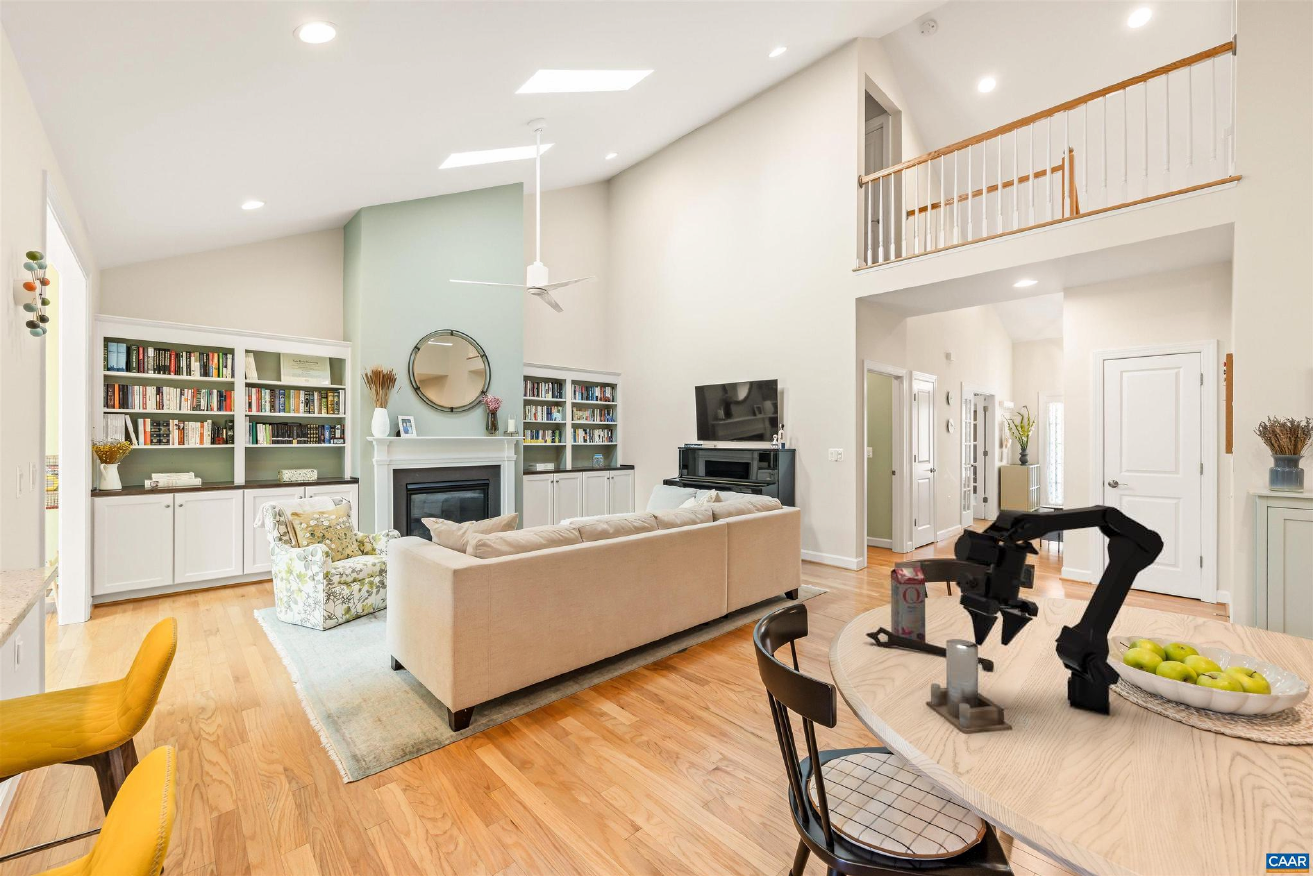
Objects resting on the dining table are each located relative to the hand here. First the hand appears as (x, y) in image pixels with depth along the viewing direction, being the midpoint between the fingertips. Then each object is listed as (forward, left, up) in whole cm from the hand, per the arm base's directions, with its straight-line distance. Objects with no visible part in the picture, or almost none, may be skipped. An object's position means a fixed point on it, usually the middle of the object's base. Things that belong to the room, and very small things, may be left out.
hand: (991, 645), depth 119 cm
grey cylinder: (+4, +8, -12) cm, 15 cm away
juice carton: (+24, -28, -13) cm, 39 cm away
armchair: (+3, +7, -13) cm, 15 cm away
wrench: (+18, -21, -14) cm, 31 cm away
